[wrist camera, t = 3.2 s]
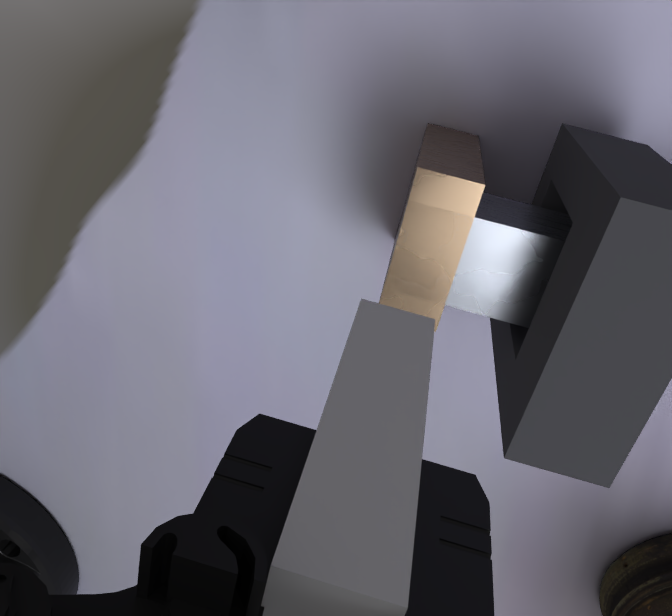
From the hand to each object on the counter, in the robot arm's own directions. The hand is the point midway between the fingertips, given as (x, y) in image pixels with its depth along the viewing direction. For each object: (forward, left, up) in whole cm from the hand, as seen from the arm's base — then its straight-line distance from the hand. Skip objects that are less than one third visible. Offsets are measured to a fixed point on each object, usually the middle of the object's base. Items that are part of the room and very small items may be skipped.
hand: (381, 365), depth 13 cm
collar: (+6, 0, -13) cm, 14 cm away
